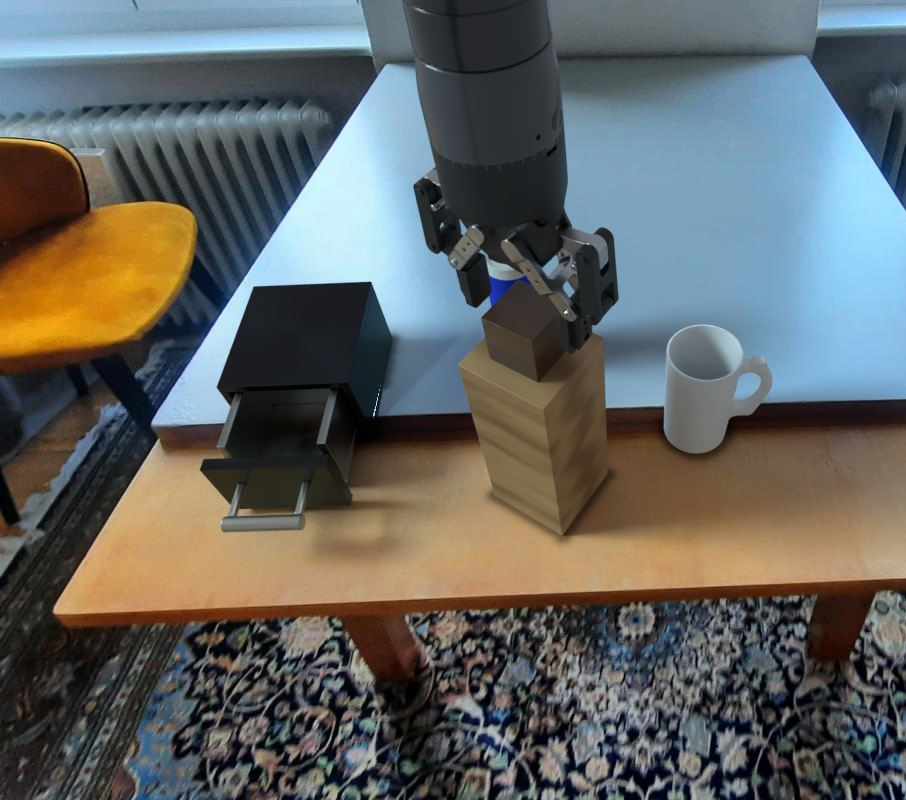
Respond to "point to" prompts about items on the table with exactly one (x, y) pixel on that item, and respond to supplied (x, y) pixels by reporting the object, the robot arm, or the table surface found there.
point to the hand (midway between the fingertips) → (526, 321)
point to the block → (523, 331)
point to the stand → (541, 431)
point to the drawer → (283, 456)
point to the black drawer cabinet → (312, 345)
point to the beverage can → (502, 279)
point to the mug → (707, 386)
